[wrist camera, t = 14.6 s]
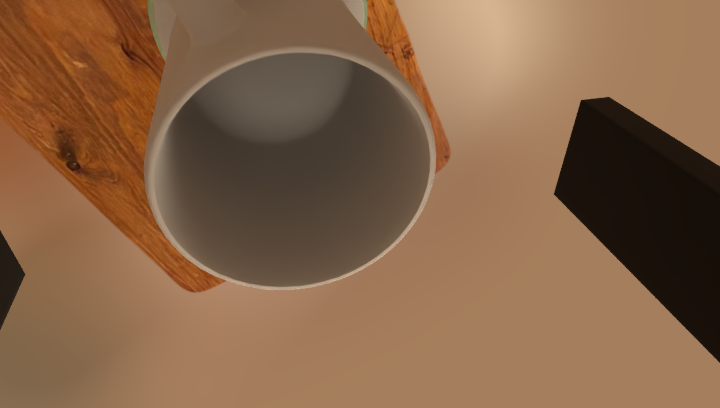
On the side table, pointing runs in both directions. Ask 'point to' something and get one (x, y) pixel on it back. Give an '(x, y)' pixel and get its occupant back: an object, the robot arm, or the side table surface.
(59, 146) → the side table surface
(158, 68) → the side table surface
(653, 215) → the robot arm
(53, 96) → the side table surface
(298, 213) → the mug
